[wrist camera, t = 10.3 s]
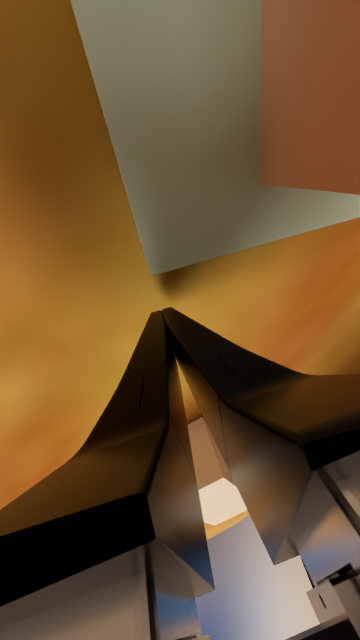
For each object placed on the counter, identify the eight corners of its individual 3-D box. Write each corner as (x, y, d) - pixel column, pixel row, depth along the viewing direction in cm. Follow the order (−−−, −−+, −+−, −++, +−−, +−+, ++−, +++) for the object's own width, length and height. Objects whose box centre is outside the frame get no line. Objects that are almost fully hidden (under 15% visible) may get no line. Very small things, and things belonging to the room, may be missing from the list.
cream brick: (236, 451, 21) (259, 503, 17) (198, 470, 21) (214, 525, 18) (201, 414, 16) (223, 477, 13) (153, 440, 16) (163, 507, 13)
